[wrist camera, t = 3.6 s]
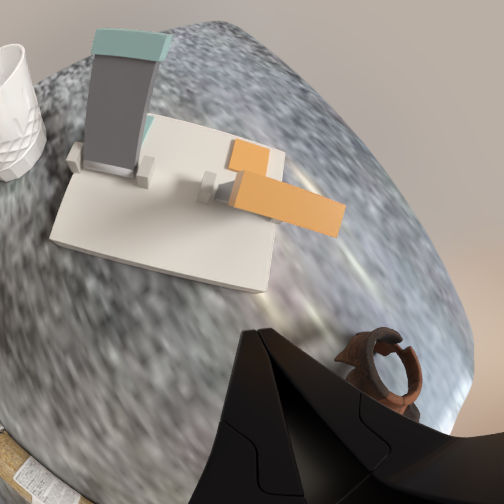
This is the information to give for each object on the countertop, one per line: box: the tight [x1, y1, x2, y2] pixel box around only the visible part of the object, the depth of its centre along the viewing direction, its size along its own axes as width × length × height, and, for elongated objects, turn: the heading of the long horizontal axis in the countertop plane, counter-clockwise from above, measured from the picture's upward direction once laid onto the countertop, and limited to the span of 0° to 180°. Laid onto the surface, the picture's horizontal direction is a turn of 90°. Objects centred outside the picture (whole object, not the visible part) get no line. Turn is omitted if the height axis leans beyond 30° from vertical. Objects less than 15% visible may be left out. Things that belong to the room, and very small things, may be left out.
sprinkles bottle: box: [0, 423, 94, 504], centre depth 9 cm, size 5×5×13 cm
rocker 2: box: [214, 170, 346, 238], centre depth 15 cm, size 1×4×10 cm, turn 80°
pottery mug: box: [334, 327, 422, 423], centre depth 20 cm, size 12×10×8 cm
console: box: [49, 113, 285, 294], centre depth 19 cm, size 12×16×4 cm
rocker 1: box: [83, 28, 173, 179], centre depth 13 cm, size 1×4×10 cm, turn 81°
